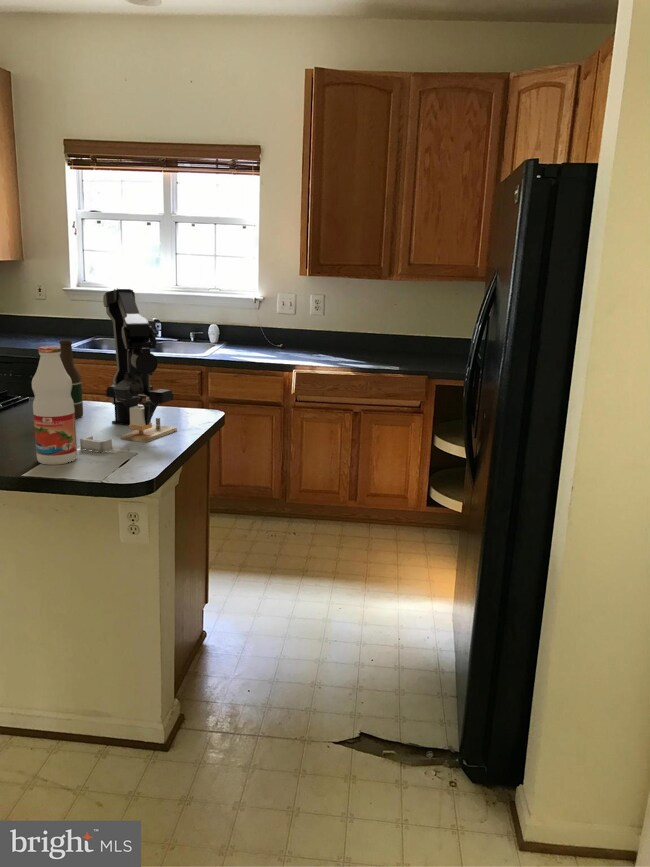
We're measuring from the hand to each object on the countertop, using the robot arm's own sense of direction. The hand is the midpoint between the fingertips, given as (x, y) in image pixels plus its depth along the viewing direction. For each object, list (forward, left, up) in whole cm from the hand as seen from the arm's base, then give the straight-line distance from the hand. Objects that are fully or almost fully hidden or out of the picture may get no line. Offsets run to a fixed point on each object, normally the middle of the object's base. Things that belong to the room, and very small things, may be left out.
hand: (140, 423), depth 193 cm
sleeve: (0, 0, -1) cm, 1 cm away
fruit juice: (-5, -27, -4) cm, 28 cm away
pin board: (0, +4, -4) cm, 6 cm away
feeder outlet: (-3, -15, -4) cm, 16 cm away
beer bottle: (-35, +11, -4) cm, 37 cm away
